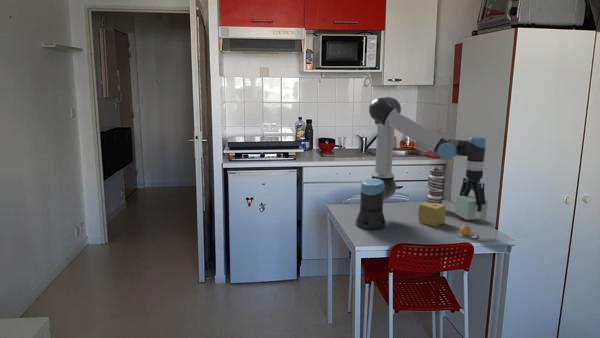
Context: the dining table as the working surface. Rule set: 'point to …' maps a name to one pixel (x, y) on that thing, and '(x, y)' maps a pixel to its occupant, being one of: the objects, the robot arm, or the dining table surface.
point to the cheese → (432, 214)
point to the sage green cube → (469, 207)
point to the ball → (465, 230)
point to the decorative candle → (435, 185)
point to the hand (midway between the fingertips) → (470, 214)
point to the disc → (466, 236)
